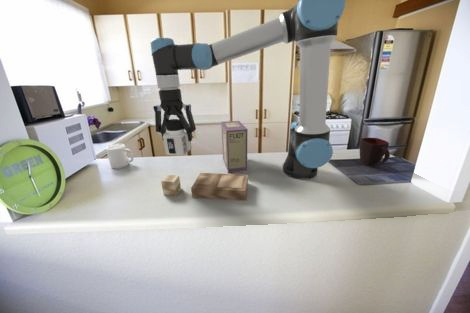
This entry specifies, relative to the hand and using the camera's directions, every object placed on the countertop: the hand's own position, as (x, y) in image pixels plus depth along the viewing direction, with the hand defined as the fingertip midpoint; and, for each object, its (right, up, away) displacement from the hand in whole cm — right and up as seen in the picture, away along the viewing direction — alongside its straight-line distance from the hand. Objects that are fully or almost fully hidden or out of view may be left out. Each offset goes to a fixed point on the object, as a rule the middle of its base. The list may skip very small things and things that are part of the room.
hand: (178, 148), depth 80 cm
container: (0, -1, +1) cm, 2 cm away
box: (+22, -7, +21) cm, 31 cm away
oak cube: (-2, -17, -1) cm, 17 cm away
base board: (+17, -16, -1) cm, 24 cm away
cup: (-34, -8, +22) cm, 42 cm away
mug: (+88, -8, +16) cm, 90 cm away
